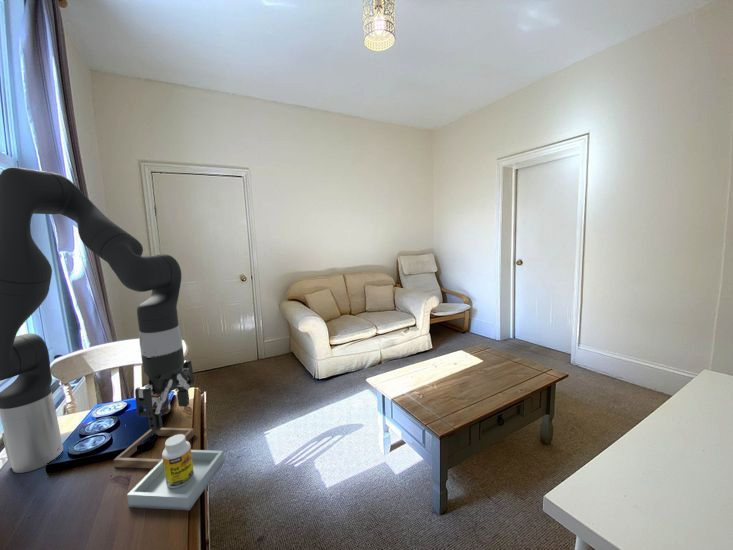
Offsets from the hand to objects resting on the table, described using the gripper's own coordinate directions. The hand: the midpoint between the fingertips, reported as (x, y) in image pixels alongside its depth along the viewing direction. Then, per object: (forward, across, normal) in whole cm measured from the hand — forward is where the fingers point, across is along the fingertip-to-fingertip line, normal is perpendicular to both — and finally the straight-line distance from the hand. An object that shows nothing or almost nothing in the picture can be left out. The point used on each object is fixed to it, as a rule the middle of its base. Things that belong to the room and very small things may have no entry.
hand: (171, 416), depth 69 cm
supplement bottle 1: (+17, -26, -26) cm, 40 cm away
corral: (+17, -10, -14) cm, 24 cm away
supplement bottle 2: (+16, 0, 0) cm, 16 cm away
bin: (+17, 0, 0) cm, 17 cm away
